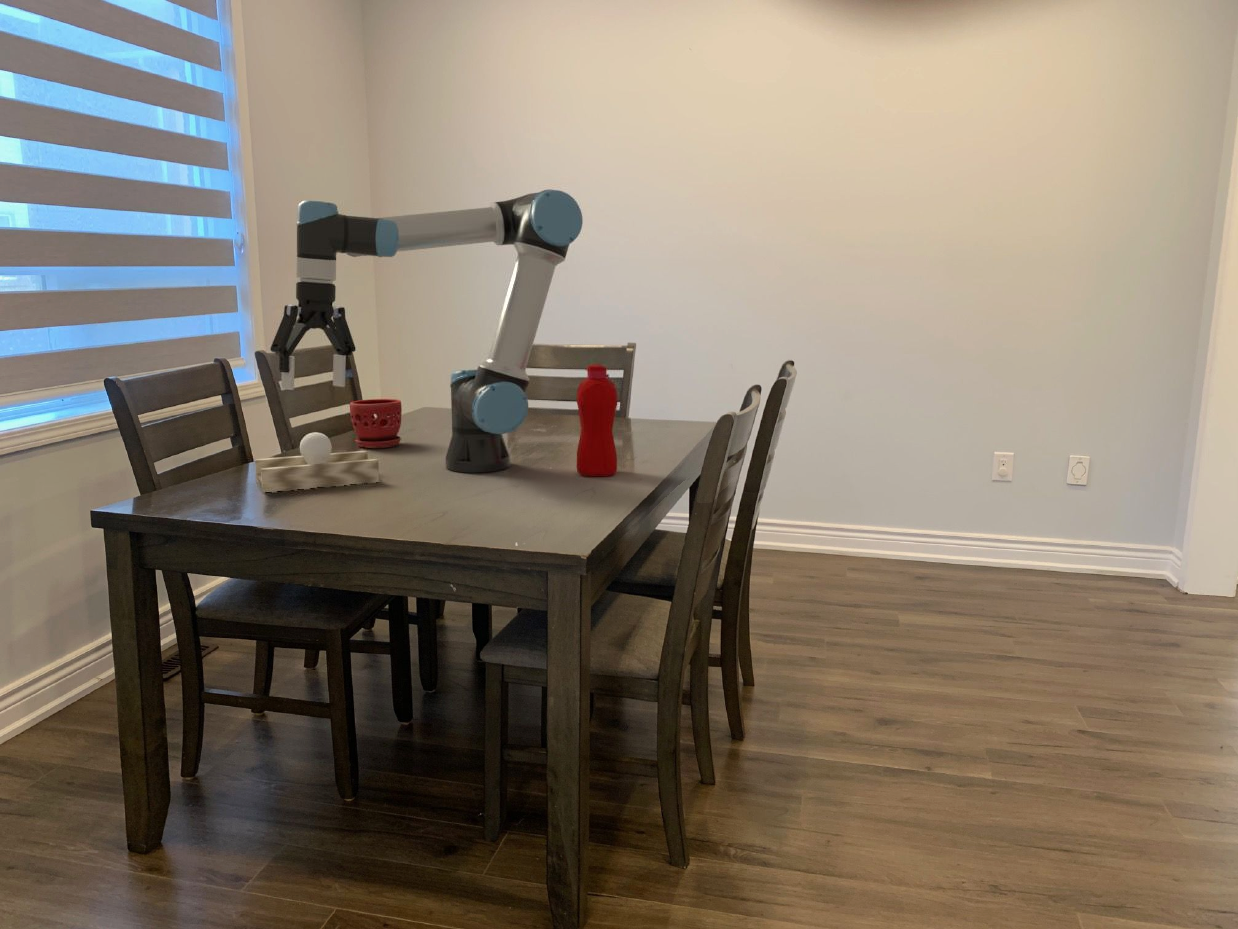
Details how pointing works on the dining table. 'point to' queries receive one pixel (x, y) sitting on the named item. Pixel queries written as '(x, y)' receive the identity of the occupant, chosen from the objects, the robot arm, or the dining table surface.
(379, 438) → the plant pot
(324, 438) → the light bulb
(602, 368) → the water bottle
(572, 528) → the dining table surface
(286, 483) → the beige chevron holder
